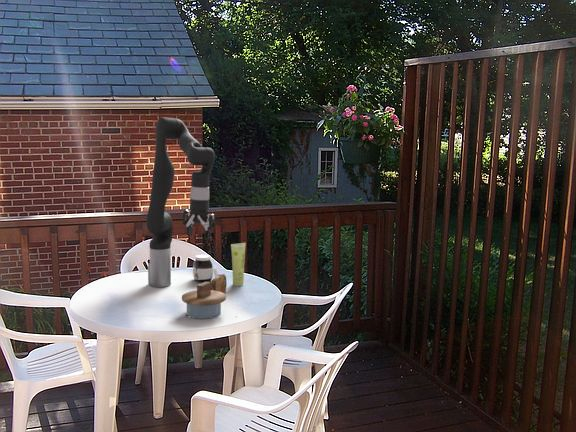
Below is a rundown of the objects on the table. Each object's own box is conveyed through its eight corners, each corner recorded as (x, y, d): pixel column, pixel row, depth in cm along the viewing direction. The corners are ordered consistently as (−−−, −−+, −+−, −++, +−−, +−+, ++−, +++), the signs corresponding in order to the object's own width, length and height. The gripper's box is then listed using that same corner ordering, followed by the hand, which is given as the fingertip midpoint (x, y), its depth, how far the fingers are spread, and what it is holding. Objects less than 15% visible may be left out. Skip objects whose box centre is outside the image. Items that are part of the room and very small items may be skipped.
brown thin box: (216, 300, 246) (216, 281, 245) (209, 300, 247) (209, 280, 245) (227, 290, 261) (227, 272, 259) (220, 290, 261) (220, 271, 260)
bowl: (180, 315, 227) (180, 300, 226) (199, 306, 238) (199, 291, 237) (208, 321, 221) (208, 305, 220) (226, 311, 233) (227, 296, 232)
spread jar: (190, 278, 278) (190, 254, 276) (212, 275, 284) (212, 252, 282) (201, 285, 268) (201, 260, 266) (223, 282, 274) (224, 257, 272)
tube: (240, 287, 266) (241, 244, 263) (230, 285, 268) (230, 243, 265) (245, 283, 272) (245, 242, 269) (235, 282, 273) (235, 241, 270)
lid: (172, 301, 225) (172, 285, 224) (198, 289, 240) (198, 275, 239) (210, 308, 218) (210, 292, 217) (234, 296, 233) (234, 281, 232)
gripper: (179, 196, 233) (178, 236, 236) (208, 201, 227) (207, 241, 230) (191, 194, 240) (189, 233, 243) (220, 199, 233) (218, 238, 236)
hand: (198, 237), depth 236 cm, fingers open, 8 cm apart
